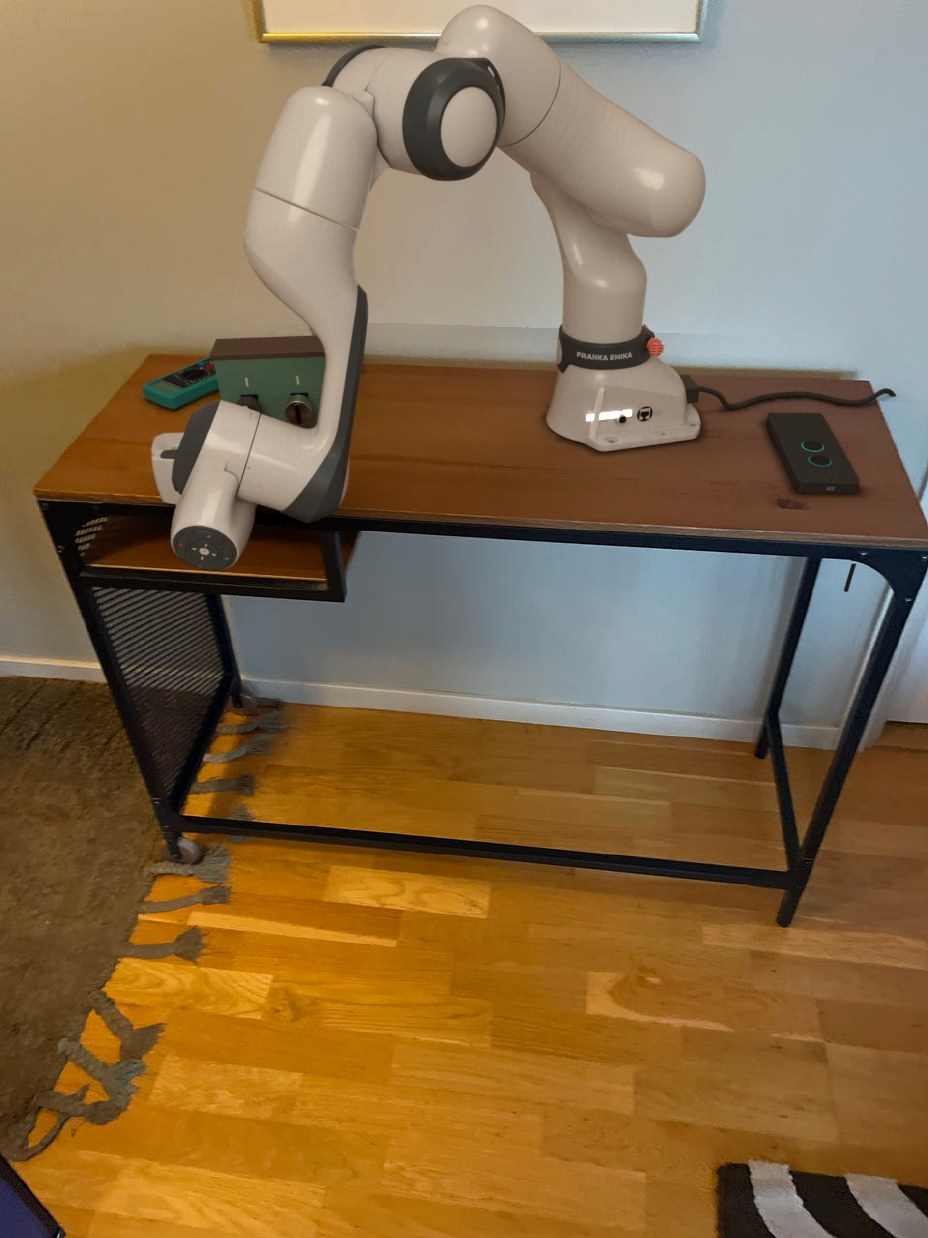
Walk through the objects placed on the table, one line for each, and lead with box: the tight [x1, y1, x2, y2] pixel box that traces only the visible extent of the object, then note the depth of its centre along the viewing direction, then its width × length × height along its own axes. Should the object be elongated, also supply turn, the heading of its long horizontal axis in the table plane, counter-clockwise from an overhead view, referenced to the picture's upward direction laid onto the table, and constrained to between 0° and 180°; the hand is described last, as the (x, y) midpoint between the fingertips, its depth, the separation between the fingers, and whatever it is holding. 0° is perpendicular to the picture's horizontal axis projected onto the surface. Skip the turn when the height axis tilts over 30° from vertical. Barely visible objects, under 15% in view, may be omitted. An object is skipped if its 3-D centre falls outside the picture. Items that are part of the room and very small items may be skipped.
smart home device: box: [765, 412, 861, 495], centre depth 126 cm, size 8×2×20 cm
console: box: [209, 335, 325, 429], centre depth 130 cm, size 6×16×14 cm, turn 93°
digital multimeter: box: [141, 355, 219, 411], centre depth 145 cm, size 7×15×3 cm, turn 143°
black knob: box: [236, 395, 262, 421], centre depth 127 cm, size 6×4×4 cm, turn 3°
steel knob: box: [285, 393, 312, 425], centre depth 127 cm, size 6×4×4 cm, turn 3°
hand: (242, 425), depth 122 cm, fingers closed
